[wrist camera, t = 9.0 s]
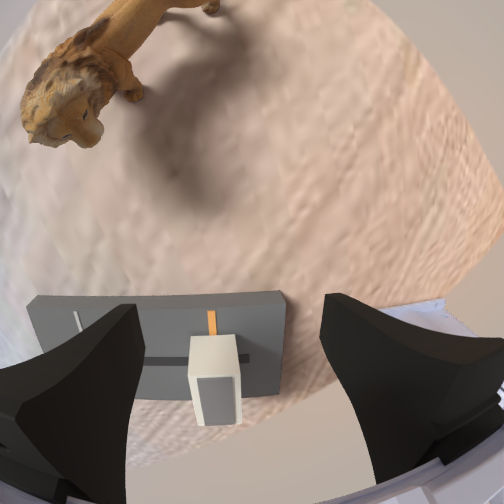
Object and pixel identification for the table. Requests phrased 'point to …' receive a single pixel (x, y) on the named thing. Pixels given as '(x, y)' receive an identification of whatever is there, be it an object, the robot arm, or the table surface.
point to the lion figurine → (92, 72)
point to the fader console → (179, 334)
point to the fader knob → (215, 380)
